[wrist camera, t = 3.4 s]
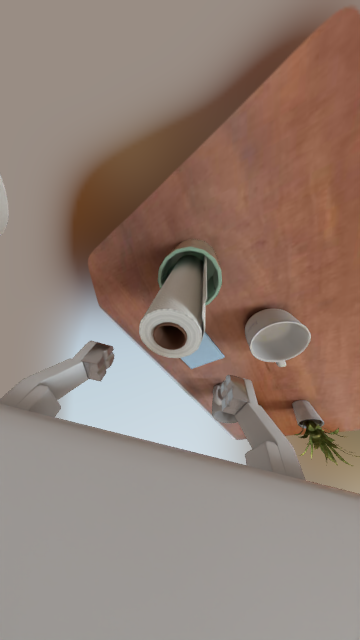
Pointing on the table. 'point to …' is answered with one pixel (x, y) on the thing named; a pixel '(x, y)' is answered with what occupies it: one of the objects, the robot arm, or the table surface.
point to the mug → (220, 407)
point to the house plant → (314, 429)
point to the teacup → (276, 336)
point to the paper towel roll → (178, 311)
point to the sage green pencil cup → (199, 250)
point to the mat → (203, 353)
